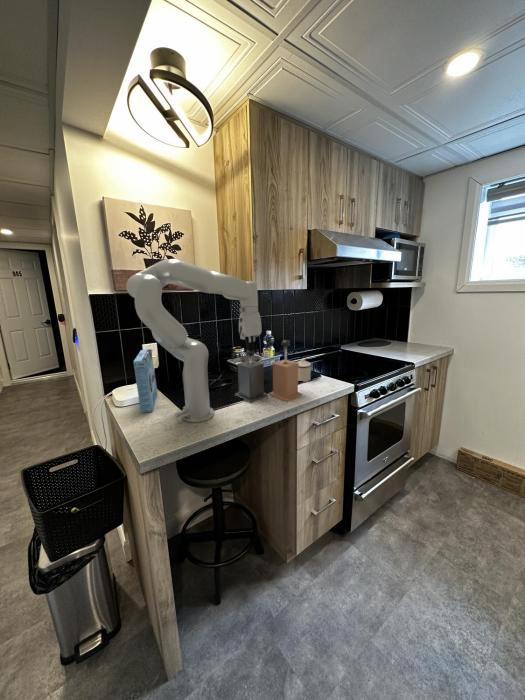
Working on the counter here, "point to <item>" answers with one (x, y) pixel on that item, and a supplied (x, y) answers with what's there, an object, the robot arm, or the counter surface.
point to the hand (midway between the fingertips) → (250, 350)
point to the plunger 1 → (250, 355)
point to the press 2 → (285, 381)
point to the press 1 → (251, 381)
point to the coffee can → (255, 358)
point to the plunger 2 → (285, 343)
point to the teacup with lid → (304, 371)
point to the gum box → (145, 380)
